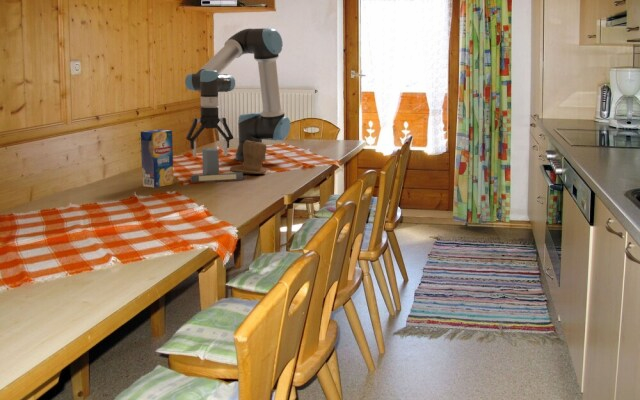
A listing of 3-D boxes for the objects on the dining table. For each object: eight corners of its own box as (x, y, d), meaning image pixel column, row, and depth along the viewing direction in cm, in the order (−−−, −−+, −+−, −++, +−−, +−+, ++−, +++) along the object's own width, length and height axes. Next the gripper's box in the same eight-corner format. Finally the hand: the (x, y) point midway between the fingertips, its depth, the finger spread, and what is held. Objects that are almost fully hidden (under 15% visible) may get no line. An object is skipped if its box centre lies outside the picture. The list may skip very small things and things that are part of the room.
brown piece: (271, 173, 348) (271, 139, 345) (258, 176, 338) (258, 142, 335) (242, 170, 355) (242, 137, 352) (228, 174, 344) (228, 140, 341)
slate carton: (202, 175, 340) (202, 148, 338) (214, 174, 342) (214, 147, 340) (207, 178, 332) (207, 150, 330) (219, 178, 334) (219, 150, 332)
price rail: (191, 182, 323) (190, 174, 323) (242, 179, 331) (241, 172, 331) (191, 182, 322) (191, 175, 321) (243, 179, 330) (243, 172, 329)
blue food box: (173, 183, 319) (172, 130, 315) (154, 187, 310) (152, 132, 306) (161, 182, 323) (159, 129, 318) (142, 185, 314) (140, 131, 309)
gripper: (182, 107, 323) (183, 158, 327) (240, 107, 332) (240, 156, 336) (178, 106, 330) (179, 155, 334) (235, 105, 339) (235, 154, 343)
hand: (210, 156), depth 335 cm, fingers open, 13 cm apart
